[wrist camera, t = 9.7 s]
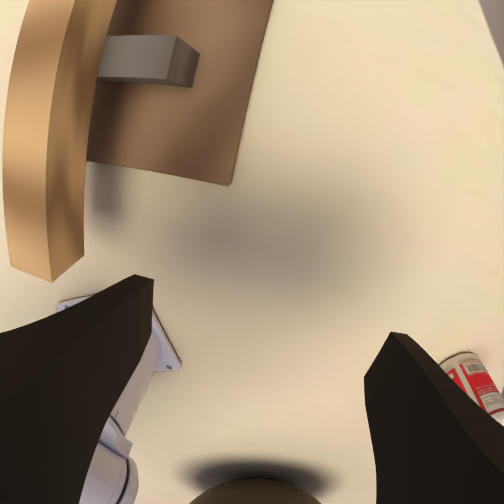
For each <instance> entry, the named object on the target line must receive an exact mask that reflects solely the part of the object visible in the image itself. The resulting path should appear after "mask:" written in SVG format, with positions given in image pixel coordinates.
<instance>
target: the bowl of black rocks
mask: <svg viewBox="0 0 504 504" xmlns="http://www.w3.org/2000/svg"><path fill="white" fill-rule="evenodd" d="M190 504H321V503H320V502H319V501H318V500H317V499H315V498H314V497H313V496H311V495H310V494H309V493H307V492H305V491H304V490H302V489H300V488H298V487H296V486H293V485H290V484H287V483H284V482H281V481H276V480H270V479H257V478H254V479H241V480H235V481H230V482H227V483H223V484H220V485H218V486H215V487H213V488H211V489H209V490H207V491H205V492H204V493H202V494H201V495H199V496H198V497H196V498H195V499H194V500H193V501H192V502H191V503H190Z"/></svg>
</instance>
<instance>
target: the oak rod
mask: <svg viewBox="0 0 504 504" xmlns="http://www.w3.org/2000/svg"><path fill="white" fill-rule="evenodd" d="M116 1H117V0H29V3H28V6H27V9H26V13H25V16H24V19H23V23H22V26H21V30H20V33H19V37H18V41H17V46H16V50H15V54H14V59H13V64H12V69H11V75H10V81H9V87H8V94H7V102H6V111H5V121H4V135H3V201H4V215H5V226H6V235H7V243H8V251H9V257H10V264H11V267H14V268H16V269H18V270H21V271H23V272H26V273H28V274H31V275H33V276H36V277H38V278H41V279H43V280H46V281H49V282H51V283H52V282H54V281H55V280H56V279H57V278H58V277H59V276H60V275H62V274H63V273H64V272H65V271H66V270H67V269H69V268H70V267H71V266H72V265H73V264H74V263H76V262H77V261H78V260H79V259H80V258H82V257H83V256H84V224H83V220H84V182H85V165H86V153H87V142H88V133H89V124H90V117H91V110H92V103H93V97H94V91H95V85H96V80H97V75H98V70H99V65H100V60H101V56H102V51H103V47H104V43H105V39H106V35H107V32H108V28H109V24H110V21H111V17H112V14H113V11H114V7H115V4H116Z"/></svg>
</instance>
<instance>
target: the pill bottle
mask: <svg viewBox="0 0 504 504" xmlns="http://www.w3.org/2000/svg"><path fill="white" fill-rule="evenodd" d="M440 367H441V368H442V369H443V370H444V371H445V372H446V373H447V374H448V375H449V377H450V378H451V379H452V380H453V381H454V382H455V383H456V384H457V385H458V386H459V387H460V388H461V389H462V390H463V391H464V392H465V393H466V394H467V395H468V396H469V397H470V398H471V399H472V400H473V401H474V402H476V403H477V404H478V405H479V406H480V407H481V408H482V409H483V410H484V411H486V412H487V413H488V414H489V415H490V416H492V417H493V418H494V419H495V420H496V421H498V422H499V423H500V424H501V425H503V426H504V400H503V398H502V397H501V395H500V393H499V391H498V389H497V388H496V386H495V384H494V382H493V381H492V379H491V377H490V375H489V374H488V372H487V370H486V369H485V367H484V365H483V364H482V362H481V361H480V359H479V358H478V357H477V356H476V355H474V354H471V353H464V354H459V355H457V356H454V357H452V358H450V359H448V360H447V361H445V362H444V363H442V364H441V365H440Z"/></svg>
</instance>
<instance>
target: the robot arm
mask: <svg viewBox="0 0 504 504" xmlns="http://www.w3.org/2000/svg"><path fill="white" fill-rule="evenodd" d="M153 286H154V279H150V278H146V277H143V276H139V275H136V274H134V275H132V276H130V277H128V278H126V279H124V280H122V281H120V282H118V283H116V284H114V285H112V286H110V287H108V288H106V289H104V290H103V291H101V292H99V293H97V294H95V295H91V296H87V297H82V298H77V299H72V300H67V301H62V302H59V303H57V304H56V309H57V311H58V312H57V313H55V314H53V315H51V316H48V317H46V318H44V319H41V320H38V321H36V322H33V323H31V324H28V325H25V326H22V327H19V328H16V329H13V330H10V331H6V332H2V333H0V504H133V503H134V501H135V498H136V495H137V491H138V483H139V481H138V471H137V466H136V464H135V462H134V461H133V459H132V458H130V457H129V456H128V455H129V452H130V450H131V447H132V445H133V444H132V443H131V442H130V441H129V440H127V439H126V438H125V436H126V433H127V431H128V429H129V426H130V424H131V422H132V420H133V417H134V415H135V413H136V410H137V408H138V406H139V403H140V401H141V399H142V397H143V394H144V392H145V390H146V388H147V386H148V383H149V381H150V379H151V377H152V374H153V372H165V371H178V370H180V368H181V363H180V361H179V359H178V358H177V356H176V354H175V352H174V350H173V348H172V347H171V345H170V343H169V341H168V339H167V337H166V335H165V333H164V332H163V330H162V328H161V326H160V324H159V322H158V320H157V318H156V316H155V314H154V312H153V310H152V307H153ZM169 365H170V366H169ZM364 393H365V406H366V412H367V417H368V423H369V429H370V434H371V440H372V446H373V452H374V458H375V465H376V482H377V498H376V504H504V426H503V425H501V424H500V423H499V422H498V421H496V420H495V419H494V418H493V417H492V416H490V415H489V414H488V413H487V412H486V411H484V410H483V409H482V408H481V407H480V406H479V405H478V404H477V403H476V402H474V401H473V400H472V399H471V398H470V397H469V396H468V395H467V394H466V393H465V392H464V391H463V390H462V389H461V388H460V387H459V386H458V385H457V384H456V383H455V382H454V381H453V380H452V379H451V378H450V377H449V375H448V374H447V373H446V372H445V371H444V370H443V369H442V368H441V367H440V366H439V365H438V364H437V363H436V362H435V361H434V360H433V359H432V358H431V357H430V356H429V355H428V353H427V352H426V351H425V350H424V349H423V348H422V347H421V346H420V345H418V344H417V343H416V342H415V341H414V340H413V339H412V338H411V337H409V336H408V335H407V334H402V333H396V332H390V334H389V336H388V338H387V339H386V341H385V343H384V345H383V346H382V348H381V350H380V352H379V353H378V355H377V357H376V358H375V360H374V362H373V363H372V365H371V367H370V368H369V370H368V371H367V373H366V375H365V376H364Z"/></svg>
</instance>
